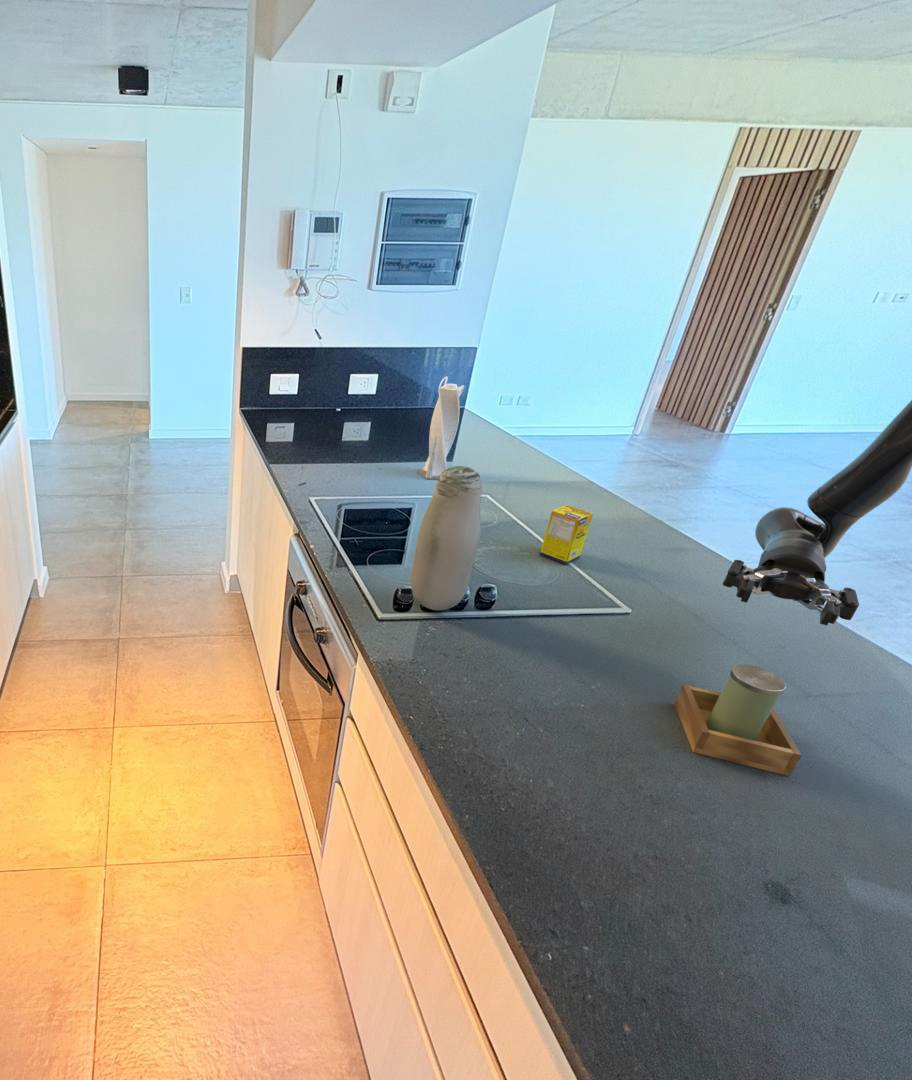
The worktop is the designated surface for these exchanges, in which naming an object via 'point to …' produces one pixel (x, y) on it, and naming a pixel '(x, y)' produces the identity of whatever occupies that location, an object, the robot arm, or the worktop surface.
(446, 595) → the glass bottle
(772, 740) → the holder
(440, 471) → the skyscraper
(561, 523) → the supplement box
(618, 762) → the worktop surface
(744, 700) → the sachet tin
